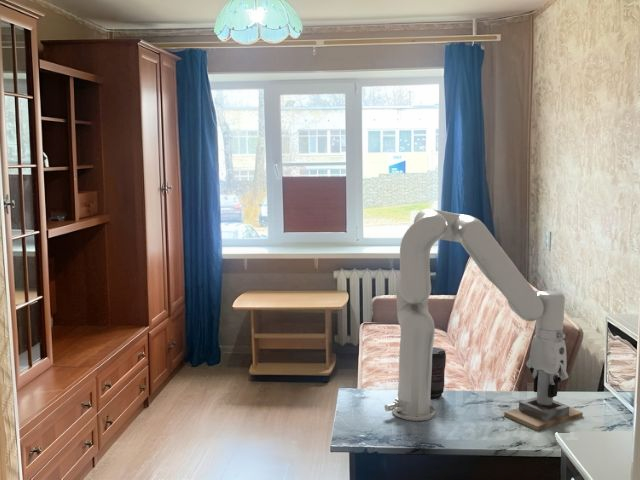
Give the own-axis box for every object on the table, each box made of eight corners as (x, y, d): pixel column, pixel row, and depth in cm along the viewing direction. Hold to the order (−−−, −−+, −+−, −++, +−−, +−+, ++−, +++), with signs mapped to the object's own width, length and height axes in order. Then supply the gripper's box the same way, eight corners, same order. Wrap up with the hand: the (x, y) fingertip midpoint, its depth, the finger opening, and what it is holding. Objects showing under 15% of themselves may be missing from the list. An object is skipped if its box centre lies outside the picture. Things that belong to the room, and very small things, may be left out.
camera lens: (448, 394, 216) (450, 349, 214) (438, 402, 210) (440, 355, 208) (424, 389, 221) (426, 344, 219) (414, 396, 214) (415, 350, 212)
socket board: (536, 430, 190) (537, 417, 190) (504, 415, 200) (504, 403, 200) (582, 416, 201) (583, 404, 200) (549, 403, 211) (550, 391, 210)
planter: (553, 406, 197) (555, 371, 196) (537, 404, 198) (539, 370, 197) (551, 400, 202) (553, 366, 200) (535, 399, 203) (537, 365, 201)
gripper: (582, 338, 192) (577, 400, 195) (534, 325, 206) (530, 383, 209) (564, 342, 188) (560, 405, 191) (517, 328, 202) (513, 387, 205)
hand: (545, 393), depth 200 cm, fingers closed on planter, 4 cm apart
